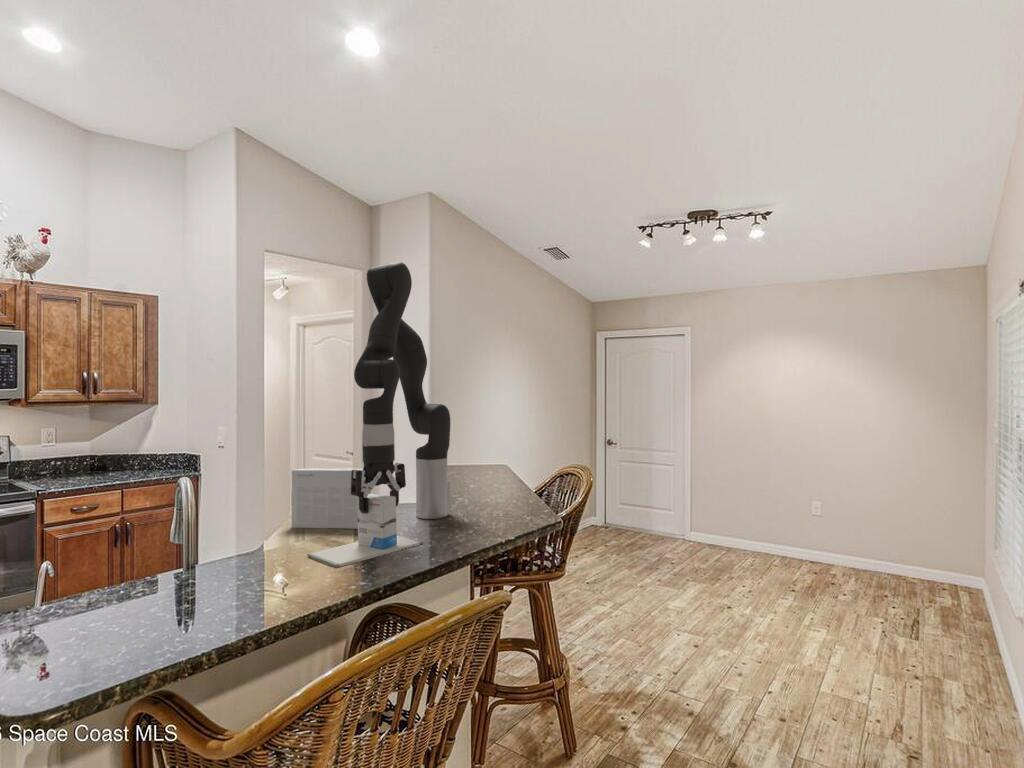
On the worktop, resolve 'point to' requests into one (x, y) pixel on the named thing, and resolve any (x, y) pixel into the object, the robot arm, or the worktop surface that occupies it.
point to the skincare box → (323, 498)
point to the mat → (359, 552)
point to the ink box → (378, 522)
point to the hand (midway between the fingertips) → (379, 509)
